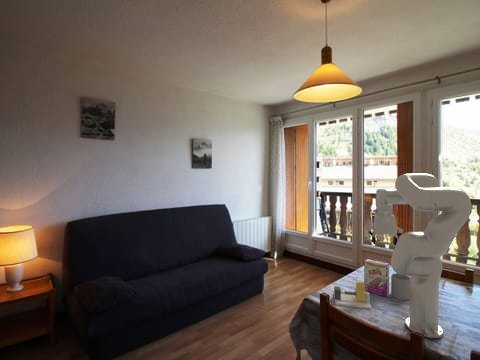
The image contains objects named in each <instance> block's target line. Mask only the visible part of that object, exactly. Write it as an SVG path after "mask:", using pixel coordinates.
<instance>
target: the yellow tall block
mask: <svg viewBox="0 0 480 360" xmlns="http://www.w3.org/2000/svg"><path fill="white" fill-rule="evenodd" d="M354 290H355V291H354V292H356V295H355V297H356V300H360V301H366V292H367V291H365V283H364V281H360V280H356V281H355V289H354Z"/></svg>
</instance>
